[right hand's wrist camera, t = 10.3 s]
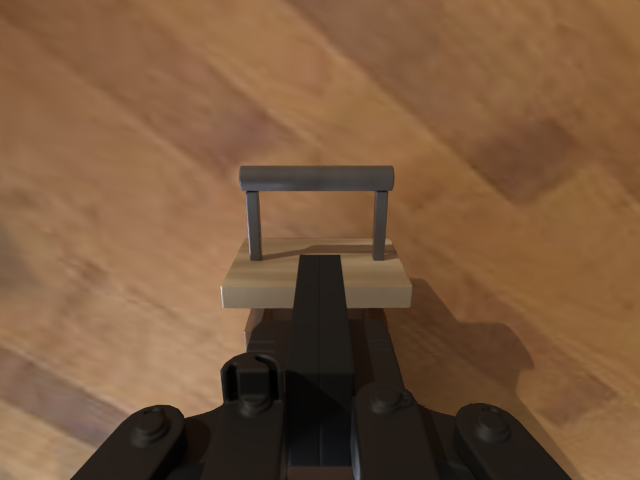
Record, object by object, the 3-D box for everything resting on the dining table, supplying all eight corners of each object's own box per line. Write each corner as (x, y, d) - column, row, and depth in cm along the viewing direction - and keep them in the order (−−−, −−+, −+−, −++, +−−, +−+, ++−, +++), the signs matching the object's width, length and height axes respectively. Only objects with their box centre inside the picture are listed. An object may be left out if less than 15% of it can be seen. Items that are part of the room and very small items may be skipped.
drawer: (238, 156, 23) (209, 179, 17) (395, 155, 23) (422, 179, 17) (258, 423, 30) (242, 508, 24) (378, 423, 30) (392, 508, 24)
